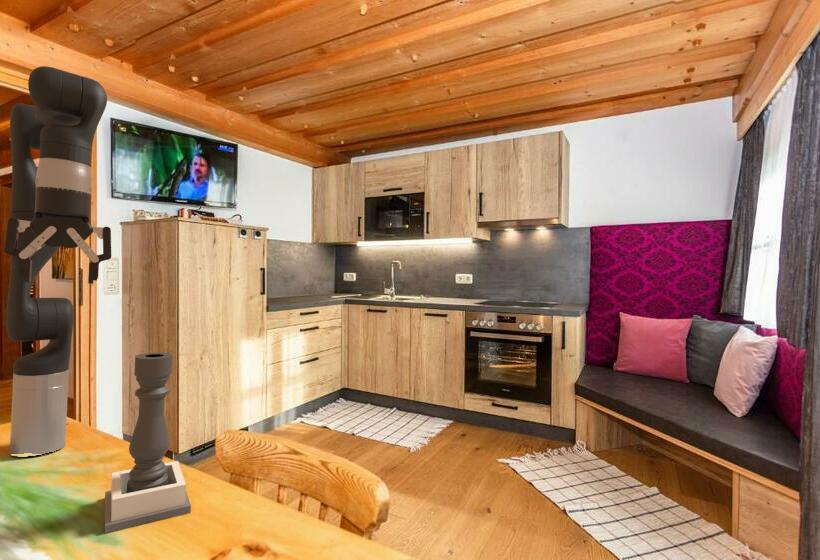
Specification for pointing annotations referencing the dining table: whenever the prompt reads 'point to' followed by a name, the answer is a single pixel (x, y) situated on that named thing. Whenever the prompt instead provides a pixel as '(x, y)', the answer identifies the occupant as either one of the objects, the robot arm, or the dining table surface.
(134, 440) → the candle holder
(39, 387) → the robot arm
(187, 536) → the dining table surface
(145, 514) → the socket dock
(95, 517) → the dining table surface
